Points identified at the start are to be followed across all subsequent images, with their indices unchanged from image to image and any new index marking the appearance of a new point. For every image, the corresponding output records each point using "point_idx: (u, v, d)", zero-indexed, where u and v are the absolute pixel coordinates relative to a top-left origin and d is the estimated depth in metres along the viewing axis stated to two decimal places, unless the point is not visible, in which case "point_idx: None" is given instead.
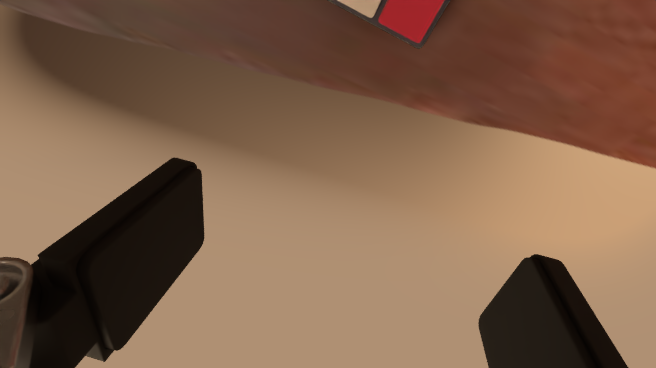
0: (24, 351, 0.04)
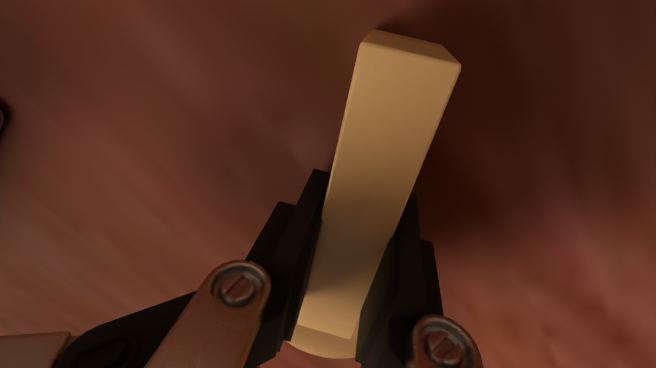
0: None
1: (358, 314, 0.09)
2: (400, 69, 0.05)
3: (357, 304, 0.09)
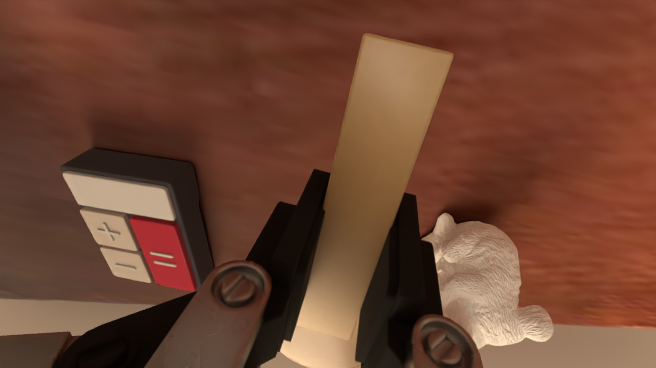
0: None
1: (358, 311, 0.09)
2: (399, 57, 0.06)
3: (356, 300, 0.09)
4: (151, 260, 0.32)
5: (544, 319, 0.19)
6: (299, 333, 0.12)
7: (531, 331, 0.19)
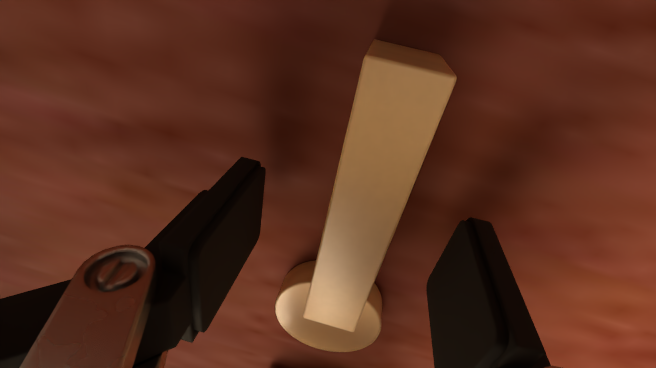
0: (136, 340, 0.05)
1: (361, 307, 0.10)
2: (401, 80, 0.06)
3: (360, 298, 0.09)
4: None
5: None
6: (307, 319, 0.13)
7: None
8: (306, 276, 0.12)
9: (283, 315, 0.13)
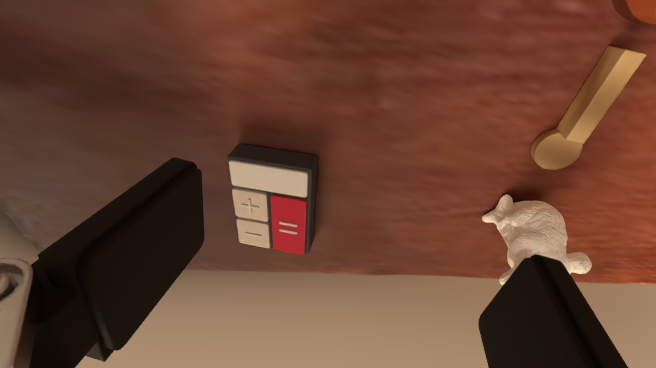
0: (25, 351, 0.04)
1: None
2: (632, 55, 0.26)
3: (593, 126, 0.30)
4: (276, 229, 0.43)
5: (585, 259, 0.30)
6: (549, 152, 0.33)
7: (576, 266, 0.30)
8: (555, 132, 0.32)
9: (539, 151, 0.33)
